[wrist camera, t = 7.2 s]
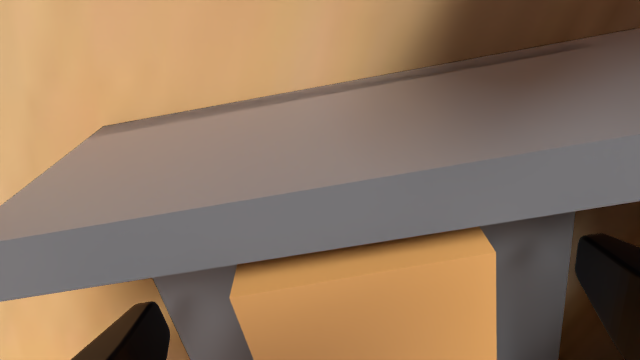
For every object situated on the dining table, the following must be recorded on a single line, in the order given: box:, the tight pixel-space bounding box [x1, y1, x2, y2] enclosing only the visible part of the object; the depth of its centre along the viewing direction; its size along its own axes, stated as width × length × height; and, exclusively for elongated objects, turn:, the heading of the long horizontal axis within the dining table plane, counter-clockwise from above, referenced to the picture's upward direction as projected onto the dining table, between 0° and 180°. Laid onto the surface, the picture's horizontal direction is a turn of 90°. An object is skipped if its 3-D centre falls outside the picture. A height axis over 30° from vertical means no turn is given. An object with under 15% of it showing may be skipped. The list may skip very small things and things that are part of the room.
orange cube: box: [229, 226, 497, 360], centre depth 9 cm, size 4×4×4 cm
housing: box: [0, 28, 640, 360], centre depth 10 cm, size 13×24×5 cm, turn 100°
